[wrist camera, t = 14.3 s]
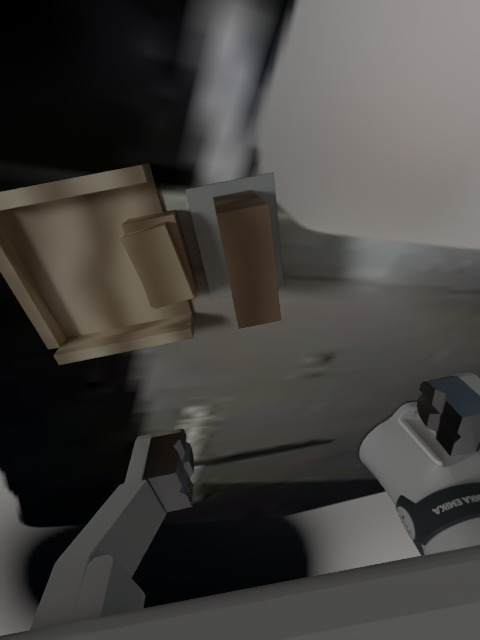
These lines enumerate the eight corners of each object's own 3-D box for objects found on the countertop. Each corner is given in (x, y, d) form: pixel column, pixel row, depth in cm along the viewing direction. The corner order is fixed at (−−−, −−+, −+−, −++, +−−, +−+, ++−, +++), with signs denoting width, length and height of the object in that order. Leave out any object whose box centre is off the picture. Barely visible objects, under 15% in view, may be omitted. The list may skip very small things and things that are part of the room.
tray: (149, 163, 25) (141, 164, 22) (194, 321, 33) (193, 338, 30) (-27, 197, 25) (-59, 203, 22) (61, 347, 33) (47, 367, 30)
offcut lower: (176, 209, 27) (173, 214, 25) (196, 288, 31) (196, 298, 29) (127, 219, 27) (121, 224, 25) (154, 296, 31) (151, 307, 29)
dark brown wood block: (250, 189, 26) (268, 203, 19) (262, 280, 31) (281, 320, 24) (212, 197, 26) (216, 214, 19) (230, 287, 31) (238, 328, 24)
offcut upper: (166, 221, 25) (164, 225, 24) (194, 291, 28) (193, 297, 27) (124, 234, 25) (120, 238, 24) (157, 302, 28) (154, 309, 27)
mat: (272, 172, 26) (273, 172, 26) (283, 283, 32) (284, 285, 32) (185, 189, 26) (185, 189, 26) (211, 297, 32) (211, 299, 31)
